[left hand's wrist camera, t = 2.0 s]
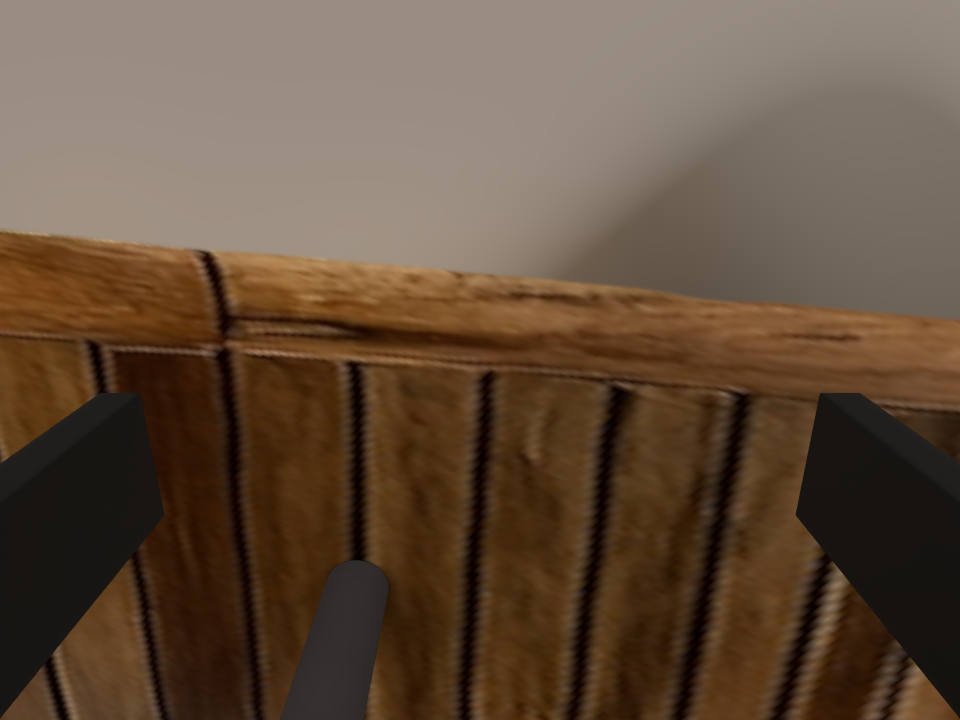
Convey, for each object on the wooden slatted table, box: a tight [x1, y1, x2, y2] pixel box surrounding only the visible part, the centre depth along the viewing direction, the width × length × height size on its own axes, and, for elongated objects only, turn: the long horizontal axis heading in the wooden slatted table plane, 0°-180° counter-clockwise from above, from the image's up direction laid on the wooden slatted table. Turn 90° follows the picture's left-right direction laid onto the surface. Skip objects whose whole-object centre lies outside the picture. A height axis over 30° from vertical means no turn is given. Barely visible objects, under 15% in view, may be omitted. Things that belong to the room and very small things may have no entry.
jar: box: [280, 560, 389, 720], centre depth 40 cm, size 5×5×16 cm
